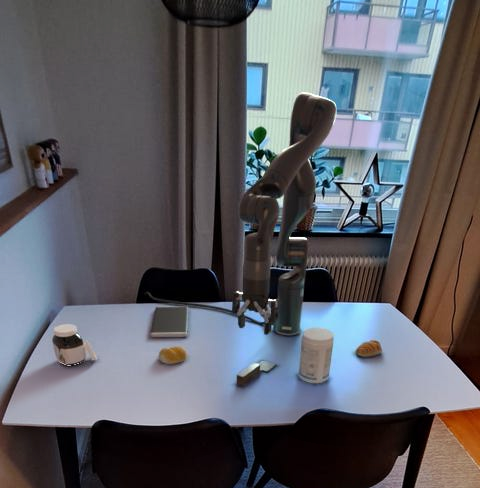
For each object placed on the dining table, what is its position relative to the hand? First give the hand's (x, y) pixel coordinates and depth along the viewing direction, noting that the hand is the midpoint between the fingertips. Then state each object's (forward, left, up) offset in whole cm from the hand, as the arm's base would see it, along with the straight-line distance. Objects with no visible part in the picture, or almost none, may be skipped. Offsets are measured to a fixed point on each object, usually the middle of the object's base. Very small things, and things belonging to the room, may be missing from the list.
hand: (254, 330), depth 140 cm
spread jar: (-52, -24, -16) cm, 60 cm away
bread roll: (-28, -5, -16) cm, 33 cm away
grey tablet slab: (-48, +18, -16) cm, 54 cm away
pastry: (+24, +38, -16) cm, 48 cm away
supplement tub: (+16, +11, -16) cm, 25 cm away
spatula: (0, +2, -16) cm, 16 cm away
